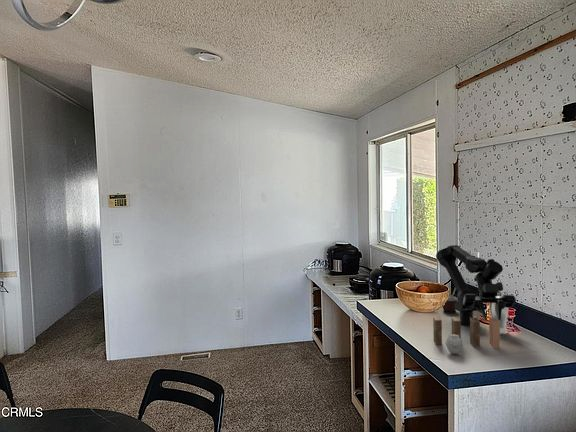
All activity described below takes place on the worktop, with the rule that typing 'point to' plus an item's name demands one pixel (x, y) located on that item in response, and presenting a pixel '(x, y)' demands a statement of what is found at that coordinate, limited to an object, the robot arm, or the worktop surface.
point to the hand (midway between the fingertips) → (492, 319)
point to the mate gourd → (450, 304)
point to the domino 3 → (475, 332)
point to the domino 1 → (437, 330)
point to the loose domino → (494, 332)
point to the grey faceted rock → (454, 344)
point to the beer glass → (503, 316)
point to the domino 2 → (456, 326)
